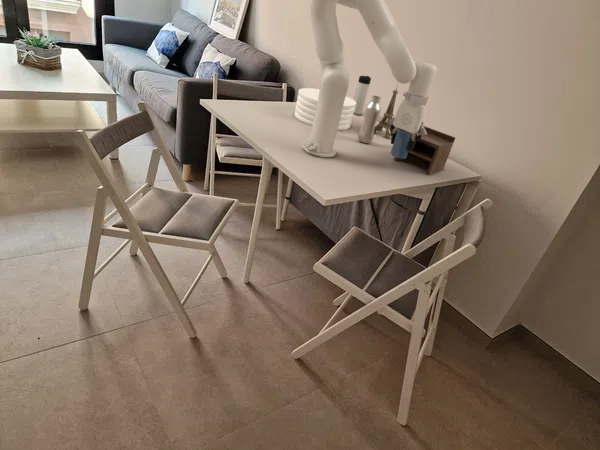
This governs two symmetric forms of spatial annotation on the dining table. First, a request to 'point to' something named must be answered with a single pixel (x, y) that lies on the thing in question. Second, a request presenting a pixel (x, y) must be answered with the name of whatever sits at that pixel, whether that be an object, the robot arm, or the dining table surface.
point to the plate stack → (309, 102)
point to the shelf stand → (432, 149)
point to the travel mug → (361, 94)
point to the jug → (401, 144)
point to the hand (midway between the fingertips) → (401, 146)
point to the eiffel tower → (387, 115)
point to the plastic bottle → (370, 120)
